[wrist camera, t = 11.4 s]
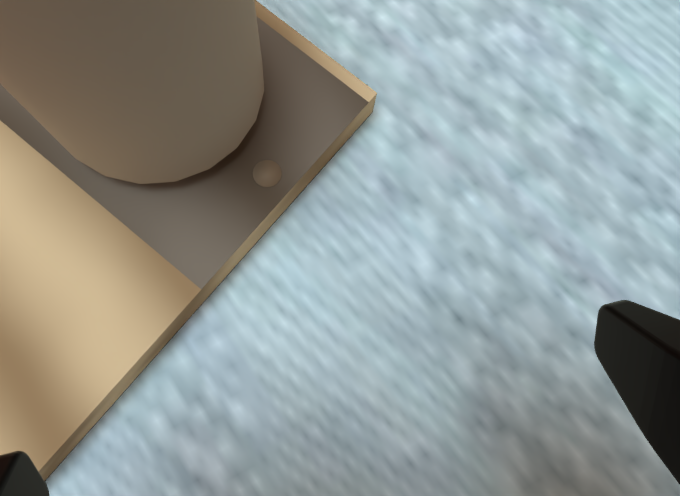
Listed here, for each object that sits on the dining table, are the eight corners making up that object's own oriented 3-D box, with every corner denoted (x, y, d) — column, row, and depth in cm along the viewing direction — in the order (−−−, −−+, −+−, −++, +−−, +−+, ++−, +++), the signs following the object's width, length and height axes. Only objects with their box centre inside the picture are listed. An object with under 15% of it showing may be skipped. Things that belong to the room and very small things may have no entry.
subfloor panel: (31, 495, 19) (7, 505, 17) (-218, 264, 20) (-261, 254, 19) (372, 111, 23) (377, 92, 21) (146, -63, 24) (135, -93, 22)
